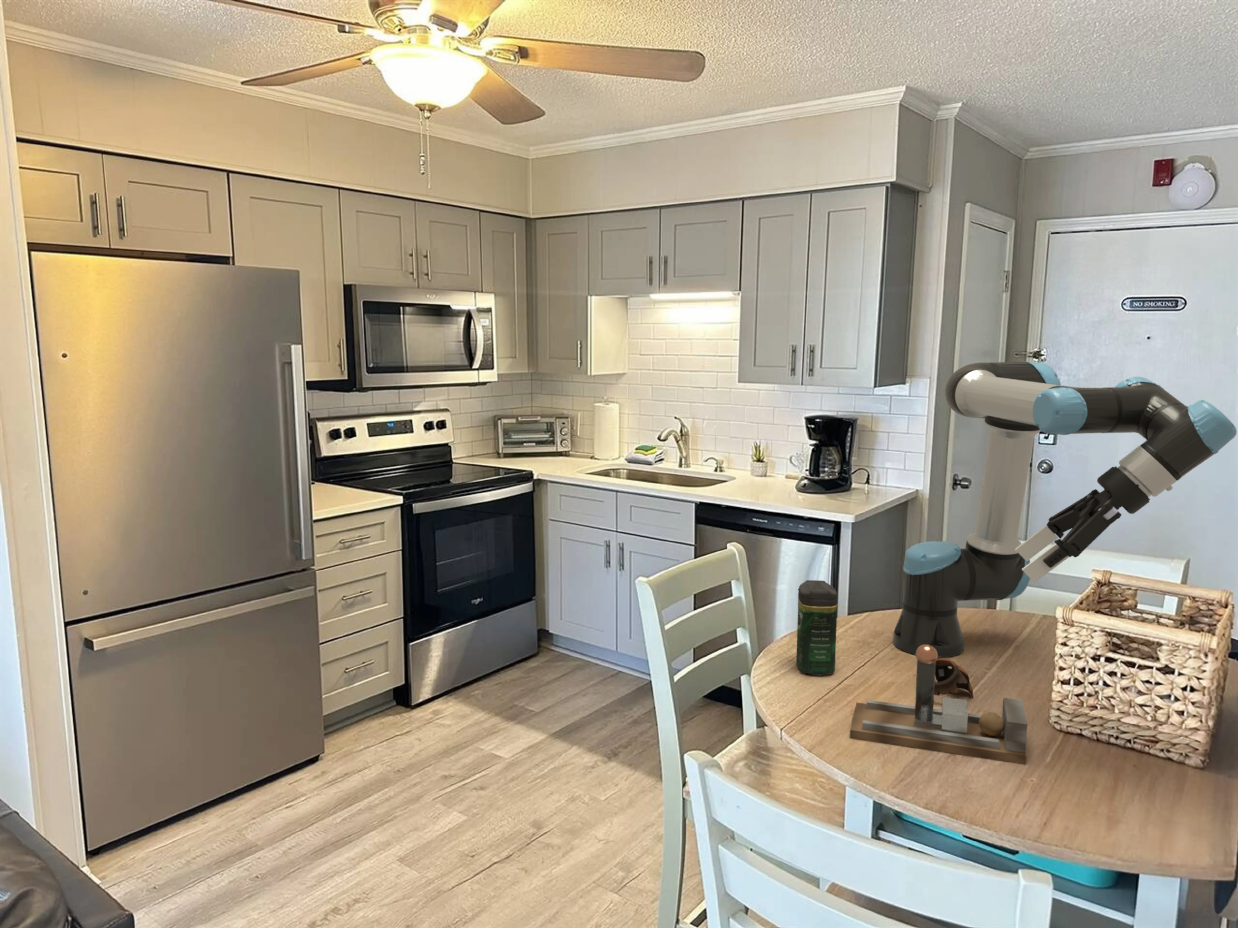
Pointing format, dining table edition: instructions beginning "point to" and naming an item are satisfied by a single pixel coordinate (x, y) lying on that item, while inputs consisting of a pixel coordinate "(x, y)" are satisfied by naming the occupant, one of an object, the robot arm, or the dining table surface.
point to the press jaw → (952, 709)
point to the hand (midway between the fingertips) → (1024, 565)
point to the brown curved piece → (950, 677)
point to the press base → (982, 739)
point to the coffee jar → (816, 627)
